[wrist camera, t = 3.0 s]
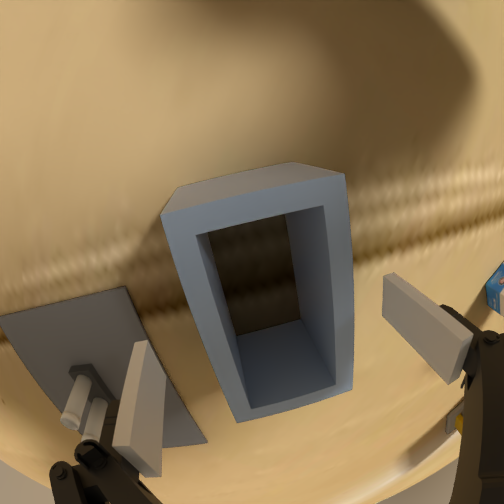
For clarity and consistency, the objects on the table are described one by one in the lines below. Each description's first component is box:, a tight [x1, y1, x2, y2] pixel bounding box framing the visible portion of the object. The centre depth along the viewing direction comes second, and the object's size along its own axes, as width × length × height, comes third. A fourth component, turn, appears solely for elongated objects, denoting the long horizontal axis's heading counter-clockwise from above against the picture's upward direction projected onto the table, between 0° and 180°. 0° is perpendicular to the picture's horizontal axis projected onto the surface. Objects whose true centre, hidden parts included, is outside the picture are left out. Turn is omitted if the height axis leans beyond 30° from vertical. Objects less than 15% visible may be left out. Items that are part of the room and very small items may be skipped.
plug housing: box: [160, 162, 354, 423], centre depth 18 cm, size 14×8×8 cm, turn 11°
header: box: [0, 286, 208, 448], centre depth 21 cm, size 22×16×7 cm
